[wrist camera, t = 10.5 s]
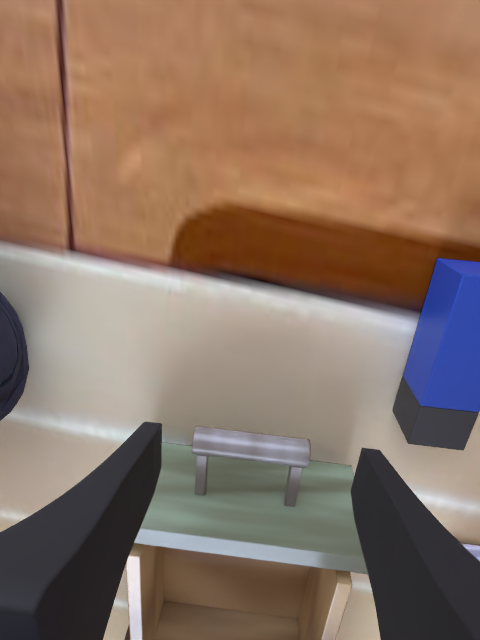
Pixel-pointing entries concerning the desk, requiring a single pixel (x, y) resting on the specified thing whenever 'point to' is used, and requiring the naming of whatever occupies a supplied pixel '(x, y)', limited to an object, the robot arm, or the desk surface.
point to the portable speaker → (11, 358)
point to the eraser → (444, 361)
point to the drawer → (244, 542)
